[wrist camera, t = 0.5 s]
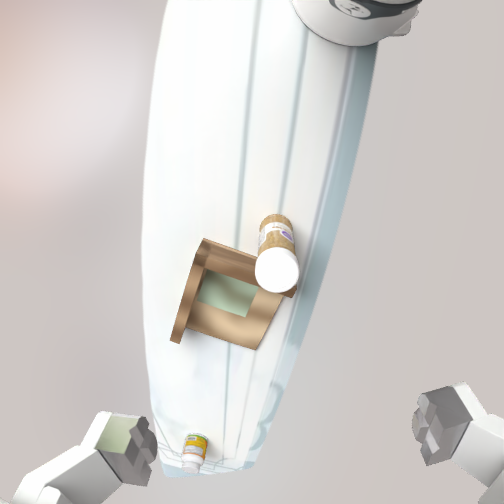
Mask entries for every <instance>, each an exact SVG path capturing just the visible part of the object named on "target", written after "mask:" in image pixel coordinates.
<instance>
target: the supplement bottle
mask: <svg viewBox="0 0 504 504" xmlns="http://www.w3.org/2000/svg"><path fill="white" fill-rule="evenodd" d="M207 442H208V440H207V438H206V437H205V436H203V435H201V434H198V433H190V434H188V435H187V436H186V438H185V443H184V447H183V452H182V456H181V460H182V462H183V465H182V470H183V471H185V472H187V473H192V474H196V473H198V472H199V470H200V466H202V465H203V463H204V459H205V454H206V448H207Z"/></svg>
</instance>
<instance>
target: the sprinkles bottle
mask: <svg viewBox="0 0 504 504" xmlns="http://www.w3.org/2000/svg"><path fill="white" fill-rule="evenodd" d="M299 273H300V271H299V263H298V260H297V258H296V255H295V246H294V238H293V234H292V225H291V223H290V221H289V220H288V219H287V218H286V217H285V216H282V215H277V214H273V215H270V216H268V217H266V218H265V219H264V220H263V221H262V223H261V225H260V236H259V247H258V259H257V261H256V266H255V276H256V280H257V282H258V284H259V285H260V286H261V287H262V288H263V289H265V290H267V291H269V292H273V293H281V292H285V291H288V290H290V289H291V288H292V287H293V286H294V285H295V284H296V283H297V281H298V279H299Z"/></svg>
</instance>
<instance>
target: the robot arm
mask: <svg viewBox="0 0 504 504" xmlns="http://www.w3.org/2000/svg"><path fill="white" fill-rule="evenodd" d="M421 1H422V0H292V3H293V6H294V8H295V10H296V12H297V14H298V16H299V17H300V19H301V20H302V21H303V22H304V23H305V24H306V25H307V26H308V27H309V28H310V29H311V30H312V31H314V32H315V33H316V34H318V35H319V36H321V37H323V38H325V39H327V40H329V41H332V42H334V43H338V44H342V45H347V46H365V45H369V44H373V43H375V42H378V41H380V40H381V39H383V38H386V37H388V36H404V35H406V34H407V33H409V31H410V28H411V20H412V19H413V18H414V17H415V16H417V14H418V10H417V6H418V4H419V3H420V2H421ZM417 403H418V405H419V408H418V409H417V410H416V411H415V412H414V415H413V419H412V428H413V433H414V436H415V439H416V440H417V441H419V442H420V443H422V448H421V453H422V456H423V458H424V461H425V463H426V466H429V465H432V464H436V463H439V462H442V461H445V460H448V459H451V461H452V462H454V463H455V464H457V465H458V466H459V467H461V468H462V469H463V470H465V471H466V472H468V473H469V474H470V475H472V476H473V477H474V478H476V479H477V480H479V481H480V482H481V483H483V484H484V485H486V486H487V487H488V489H487V490H486V492H485V493H484V494H483V495H482V496H481V497H480V499H479V501H478V504H504V419H502V418H500V417H498V416H496V415H494V414H492V413H491V414H487V413H486V411H485V410H484V408H483V407H482V405H481V404H480V402H479V401H478V399H477V398H476V396H475V395H474V394H473V392H472V391H471V389H470V388H469V386H468V385H467V384H466V383H465V382H460V383H457V384H454V385H451V386H447V387H443V388H440V389H436V390H433V391H430V392H426V393H422V394H421V395H420V396H419V398H418V402H417ZM148 426H149V423H148V421H147V419H146V417H143V416H136V415H128V414H120V413H112V412H105V411H101V412H99V413H98V414H97V416H96V418H95V419H94V421H93V423H92V424H91V426H90V428H89V430H88V432H87V434H86V436H85V437H84V439H83V441H82V443H81V445H80V446H77V445H76V446H74V447H73V448H71V449H69V450H68V451H66V452H64V453H63V454H61V455H59V456H58V457H56V458H54V459H53V460H51V461H49V462H48V463H46V464H44V465H43V466H41V467H39V468H37V469H36V470H34V471H32V472H30V473H29V474H27V475H25V477H24V479H23V481H22V482H21V484H20V486H19V487H18V489H17V491H16V493H15V495H14V496H13V498H12V500H11V502H10V503H9V502H7V501H5V500H3V499H1V498H0V504H101V503H102V502H103V501H104V500H106V499H107V498H108V497H109V496H110V495H111V494H112V493H113V492H115V491H116V490H117V489H118V488H119V487H120V486H121V485H122V483H126V484H133V485H139V486H147V484H148V481H149V478H150V474H151V471H152V470H151V468H150V466H149V464H150V463H151V462H153V461H154V460H155V458H156V455H157V440H156V437H155V435H154V433H153V432H151V431H150V430H149V429H148Z"/></svg>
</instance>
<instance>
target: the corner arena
mask: <svg viewBox="0 0 504 504" xmlns="http://www.w3.org/2000/svg"><path fill="white" fill-rule="evenodd" d="M257 259H258V257H255V256H252V255H249V254H247V253H244V252H241V251H238V250H235V249H233V248H230V247H227V246H224V245H222V244H219V243H216V242H213V241H210V240H208V239H205V238H203V240H202V242H201V244H200V246H199V248H198V250H197V252H196V254H195V258H194V261H193V264H192V267H191V270H190V273H189V277H188V280H187V283H186V286H185V290H184V293H183V296H182V300H181V303H180V306H179V310H178V313H177V317H176V320H175V324H174V327H173V331H172V334H171V338H170V341H172V342H175V343H178V344H180V341H181V338H182V335H183V333H184V330H185V327H186V328H189V329H192V330H195V331H198V332H201V333H204V334H207V335H210V336H213V337H216V338H219V339H222V340H225V341H228V342H231V343H234V344H237V345H240V346H244V347H247V348H250V349H253V350H256V348H257V347H258V345H259V343H260V341H261V339H262V337H263V335H264V333H265V331H266V329H267V327H268V325H269V323H270V321H271V320H272V318H273V316H274V314H275V312H276V310H277V308H278V306H279V304H280V302H281V300H282V298H283V296H287V297H290V298H292V297H293V295H294V293H295V291H296V289H297V286H296V284H295V285H294V286H293V287H292V288H291V289H290V290H288V291H285V292H281V293H273V292H269V291H267V290H265V289H263V288H262V287H261V286H260V285H259V284H258V282H257V280H256V276H255V266H256V261H257Z"/></svg>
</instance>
